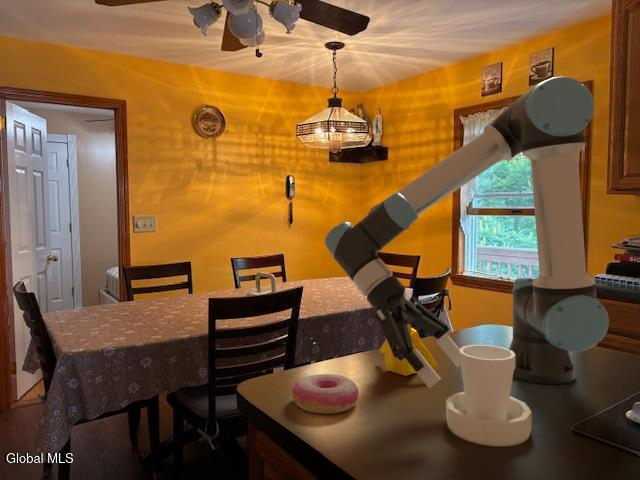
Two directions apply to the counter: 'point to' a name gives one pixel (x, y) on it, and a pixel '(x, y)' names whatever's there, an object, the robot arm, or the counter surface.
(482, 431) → the dish
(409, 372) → the figure statuette
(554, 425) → the counter surface
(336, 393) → the donut
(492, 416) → the foam cup
